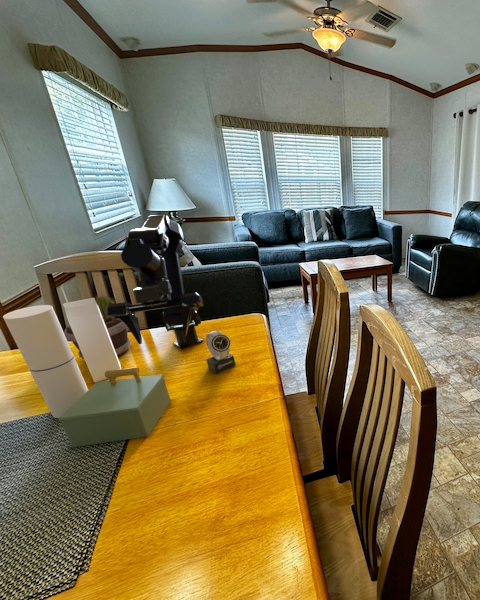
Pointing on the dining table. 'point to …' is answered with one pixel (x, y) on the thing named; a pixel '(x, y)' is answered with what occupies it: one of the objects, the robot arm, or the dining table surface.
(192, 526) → the dining table surface
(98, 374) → the milk
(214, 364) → the watch
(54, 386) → the cylindrical container
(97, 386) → the lid
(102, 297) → the flowerpot
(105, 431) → the green hinged box
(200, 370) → the dining table surface
